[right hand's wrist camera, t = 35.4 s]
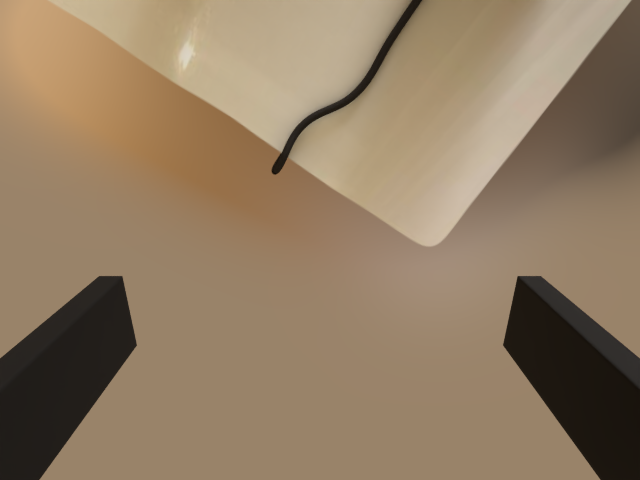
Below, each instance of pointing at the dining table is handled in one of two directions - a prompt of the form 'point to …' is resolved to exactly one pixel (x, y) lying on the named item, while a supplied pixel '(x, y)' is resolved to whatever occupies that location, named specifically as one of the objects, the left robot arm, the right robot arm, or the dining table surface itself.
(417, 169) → the dining table surface
